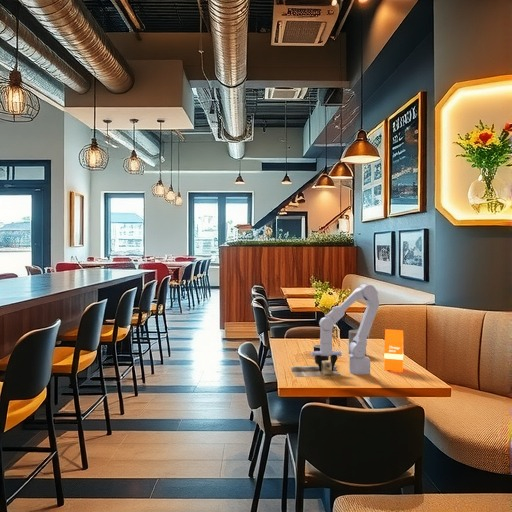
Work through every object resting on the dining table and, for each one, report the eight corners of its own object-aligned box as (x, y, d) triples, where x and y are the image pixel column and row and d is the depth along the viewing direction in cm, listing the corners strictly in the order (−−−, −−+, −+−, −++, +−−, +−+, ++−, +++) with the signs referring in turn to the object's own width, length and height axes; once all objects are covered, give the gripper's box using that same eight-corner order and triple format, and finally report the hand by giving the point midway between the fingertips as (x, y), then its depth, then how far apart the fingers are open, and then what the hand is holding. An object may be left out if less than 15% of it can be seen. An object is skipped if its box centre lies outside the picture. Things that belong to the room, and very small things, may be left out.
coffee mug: (320, 362, 244) (320, 343, 244) (333, 365, 238) (333, 346, 238) (306, 366, 236) (306, 347, 236) (319, 369, 230) (319, 349, 229)
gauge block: (328, 370, 221) (328, 360, 221) (332, 375, 213) (332, 364, 213) (320, 370, 221) (320, 360, 221) (324, 375, 213) (324, 364, 213)
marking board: (335, 372, 224) (335, 365, 224) (341, 379, 212) (341, 372, 212) (291, 373, 222) (291, 366, 222) (295, 380, 210) (295, 372, 210)
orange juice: (402, 371, 225) (402, 331, 225) (384, 370, 228) (384, 330, 228) (403, 368, 233) (403, 329, 232) (385, 366, 236) (385, 328, 235)
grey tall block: (360, 352, 269) (359, 326, 269) (369, 355, 260) (369, 329, 259) (345, 353, 266) (345, 328, 266) (354, 357, 256) (354, 330, 256)
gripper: (338, 340, 223) (338, 368, 223) (309, 341, 221) (309, 369, 222) (342, 343, 215) (342, 372, 216) (312, 344, 214) (312, 372, 215)
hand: (326, 371), depth 218 cm, fingers open, 5 cm apart
